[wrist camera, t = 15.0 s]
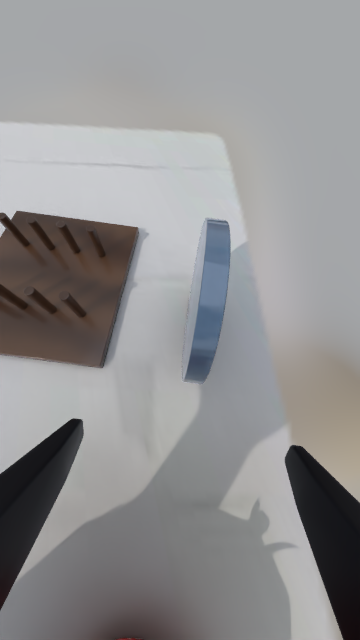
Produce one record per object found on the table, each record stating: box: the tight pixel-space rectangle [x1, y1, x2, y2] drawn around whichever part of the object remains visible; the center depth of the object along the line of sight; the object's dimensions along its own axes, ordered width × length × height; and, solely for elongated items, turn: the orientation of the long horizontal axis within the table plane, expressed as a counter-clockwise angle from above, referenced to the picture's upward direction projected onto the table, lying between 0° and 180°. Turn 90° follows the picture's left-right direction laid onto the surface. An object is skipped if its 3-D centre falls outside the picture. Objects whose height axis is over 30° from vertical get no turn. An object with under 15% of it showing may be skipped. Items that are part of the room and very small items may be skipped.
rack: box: [0, 211, 139, 368], centre depth 19 cm, size 16×14×4 cm
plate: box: [182, 218, 230, 384], centre depth 14 cm, size 11×1×11 cm, turn 173°
